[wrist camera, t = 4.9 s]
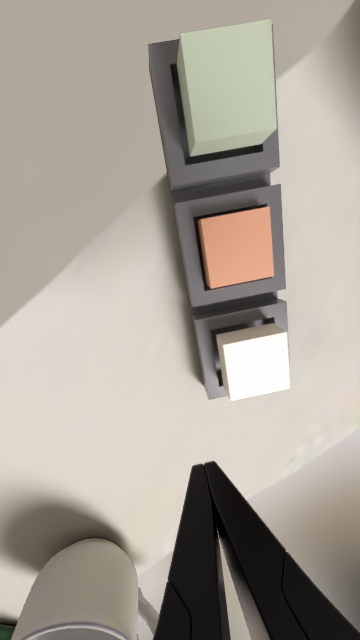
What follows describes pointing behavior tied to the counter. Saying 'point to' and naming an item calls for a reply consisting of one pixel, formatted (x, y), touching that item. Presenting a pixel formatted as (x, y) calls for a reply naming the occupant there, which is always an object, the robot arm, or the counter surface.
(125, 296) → the counter surface
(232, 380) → the cream button
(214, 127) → the sage button
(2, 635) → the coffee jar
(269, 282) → the button bank
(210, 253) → the terracotta button
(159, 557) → the counter surface
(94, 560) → the teacup
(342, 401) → the counter surface
